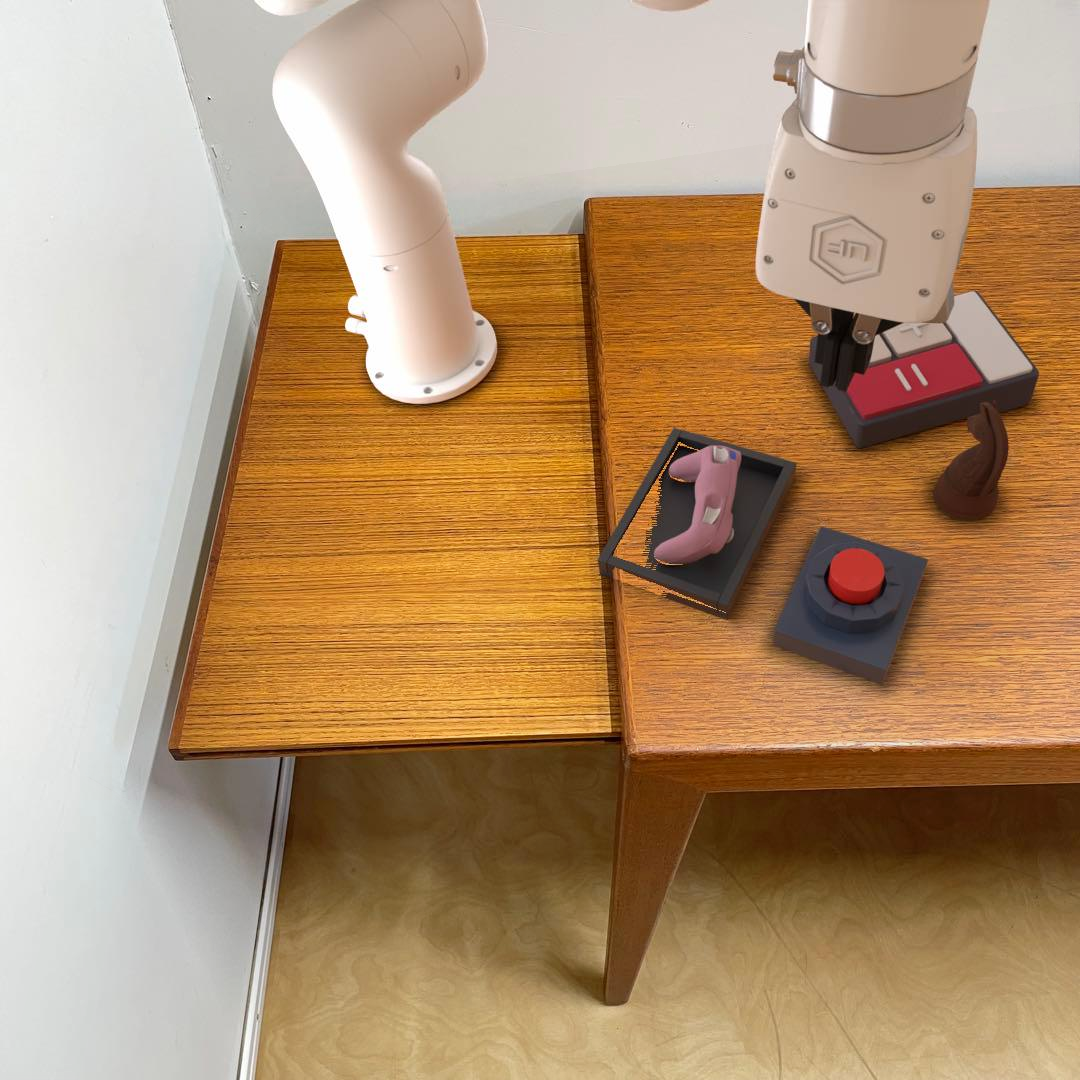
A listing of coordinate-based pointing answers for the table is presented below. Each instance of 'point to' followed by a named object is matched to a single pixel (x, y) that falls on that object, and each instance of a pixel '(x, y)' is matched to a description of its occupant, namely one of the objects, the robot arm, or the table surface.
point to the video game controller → (705, 504)
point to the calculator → (933, 375)
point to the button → (856, 576)
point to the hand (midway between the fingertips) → (840, 373)
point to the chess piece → (975, 469)
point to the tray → (714, 574)
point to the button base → (849, 609)
